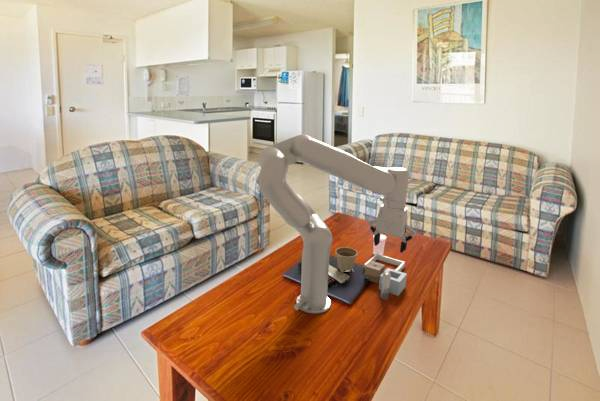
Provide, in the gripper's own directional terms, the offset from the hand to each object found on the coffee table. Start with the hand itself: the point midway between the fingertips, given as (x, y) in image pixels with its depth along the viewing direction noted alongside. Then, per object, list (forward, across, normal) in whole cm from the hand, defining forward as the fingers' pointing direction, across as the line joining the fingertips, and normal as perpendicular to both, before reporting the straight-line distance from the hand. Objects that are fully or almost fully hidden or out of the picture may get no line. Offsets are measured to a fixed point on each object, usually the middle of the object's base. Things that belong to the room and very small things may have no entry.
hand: (389, 247), depth 132 cm
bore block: (+20, 0, +8) cm, 22 cm away
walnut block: (+20, -9, +11) cm, 25 cm away
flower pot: (+21, -22, +10) cm, 32 cm away
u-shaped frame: (+20, -9, +22) cm, 31 cm away
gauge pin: (+20, 0, 0) cm, 20 cm away
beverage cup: (+20, -16, +34) cm, 43 cm away
